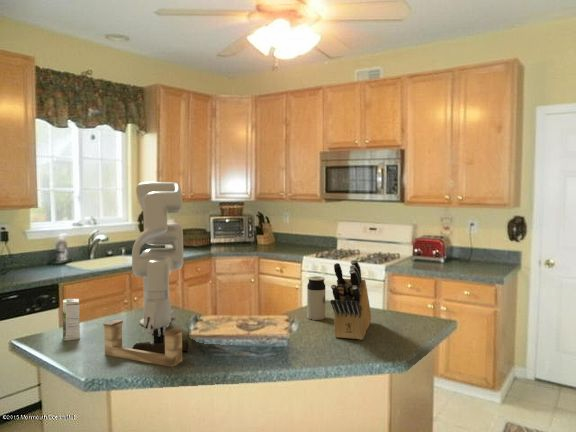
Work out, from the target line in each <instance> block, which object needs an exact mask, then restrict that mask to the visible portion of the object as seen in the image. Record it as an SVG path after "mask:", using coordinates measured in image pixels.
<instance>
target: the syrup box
mask: <svg viewBox="0 0 576 432" xmlns="http://www.w3.org/2000/svg"><path fill="white" fill-rule="evenodd" d="M80 315H81V314H80V298H66V299H63V300H62V341H63V342H66V341H73V340H79V339H80V338H81V337H80V336H81V335H80V334H81V330H80V328H81V326H80Z"/></svg>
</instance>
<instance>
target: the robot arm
mask: <svg viewBox="0 0 576 432" xmlns="http://www.w3.org/2000/svg"><path fill="white" fill-rule="evenodd" d="M135 191H136V197H137V199H138V202H139V205H140V207H141V209H142V214H143V231H142V232H141V233H140V234H139V235H138V236H137V238H136V239H135V241H134V243H133V244H132V245H133V246H132V250H131V269H132V274H133V275H134V276H135V277H136V278H142V288H143V292H142V293H143V295H142V296H143V297H142V298H143V318H141V319H140V320H139V324H140V325H141V326H143V328H144V329H147V330H146V334H150V335H152V336H153V344H156V343H165V335H164V332H166V329H167V328H168V327H169V326H170V323H171V322H172V314H173V312H174V310H173V309H172V305H171V304H172V303H171V299H170V275H171V273H172V272H173V271H178V270H180V269H182V268H183V265H184V231H183V228H182V225H181V224H180V223H178V222H168V214H175V213H176V214H177V213H181V212H182V210H183V205H184V203H183V202H184V201H183V199H184V198H183V194H182V193H183V192H182V188H181V186H180V184H179V183H178V182H174V181H144V182H140V183H138V184H137V185H136V189H135ZM145 244H147V245H149V246H172V247H156V248H153V247H151V248H147V249H145V250H143V251H142V252H141V250H142V247H143V246H144V245H145Z"/></svg>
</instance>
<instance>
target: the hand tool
mask: <svg viewBox="0 0 576 432" xmlns="http://www.w3.org/2000/svg"><path fill="white" fill-rule="evenodd" d="M189 345H190V344H189V340H188V339H185V340H182V352H186V353H188V352H189V349H190V348H189V347H190V346H189ZM131 349H136V350H142V351H148V352H154V353H160V354H165V342H164V343H156V344H154V343H151V341H146V342H143V341H142V342H136V343H135V344H134V345H133V346H132V348H131Z"/></svg>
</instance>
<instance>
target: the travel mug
mask: <svg viewBox="0 0 576 432" xmlns="http://www.w3.org/2000/svg"><path fill="white" fill-rule="evenodd" d="M307 279H308V282H307V286H306V289H307V290H306V293H307V294H306V295H307V300H306V301H307V303H306V304H307V305H306V306H307V307H306V308H307V309H306V316H307V319H309V320H311V319H312V320H311V321H322V320H325V319H326V283H325V279H326V278H325V277H324V276H319V275H314V276H308V277H307Z"/></svg>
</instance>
